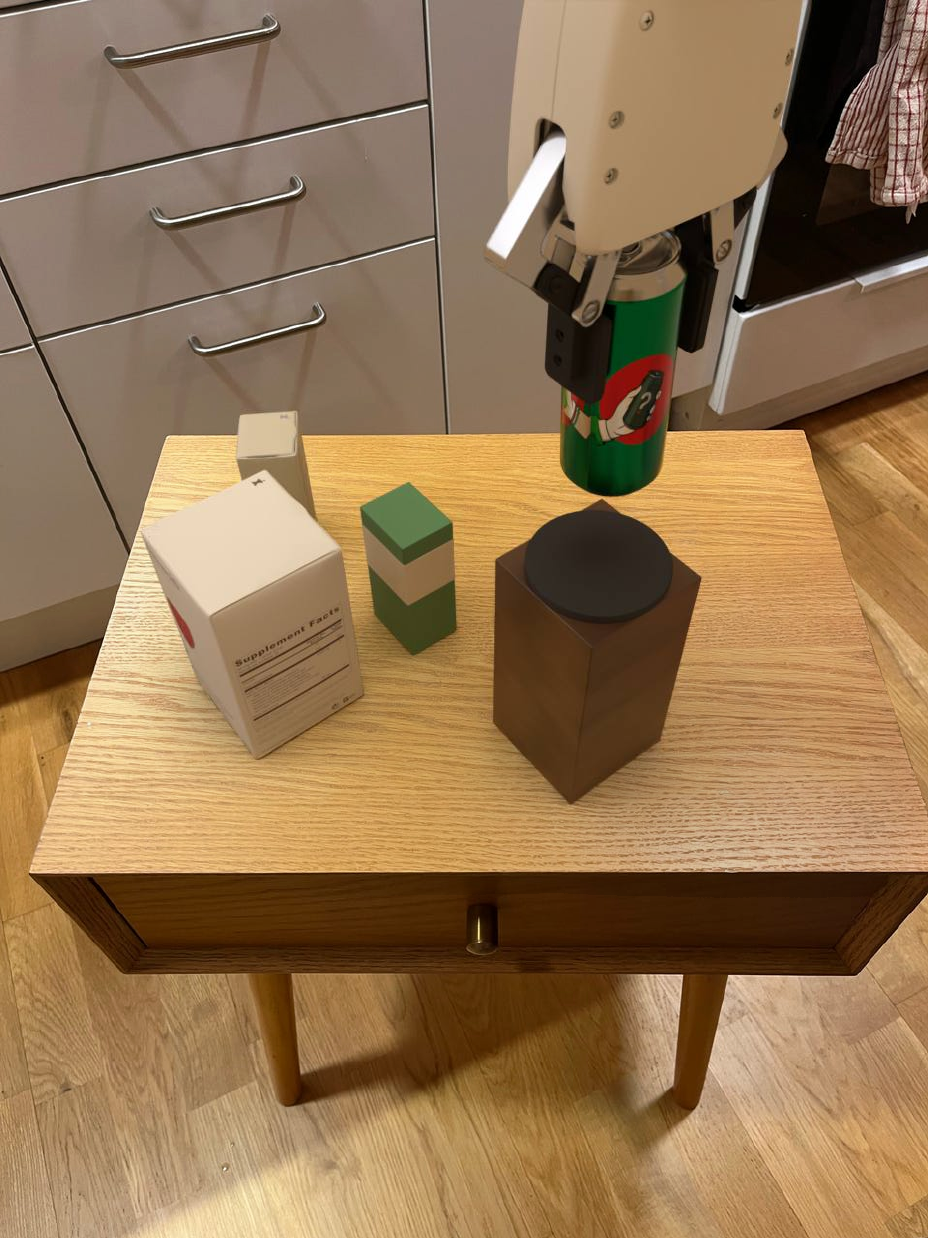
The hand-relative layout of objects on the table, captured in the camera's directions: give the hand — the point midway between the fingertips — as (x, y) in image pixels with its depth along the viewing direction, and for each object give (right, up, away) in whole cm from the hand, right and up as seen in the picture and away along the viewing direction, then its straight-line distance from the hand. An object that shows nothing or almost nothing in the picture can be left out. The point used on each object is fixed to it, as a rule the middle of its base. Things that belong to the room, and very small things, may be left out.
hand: (624, 358), depth 42 cm
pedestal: (0, -19, +22) cm, 29 cm away
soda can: (0, -4, +6) cm, 7 cm away
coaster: (0, -9, +10) cm, 13 cm away
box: (-21, -5, +34) cm, 41 cm away
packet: (-9, -7, +25) cm, 28 cm away
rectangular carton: (-20, -16, +25) cm, 36 cm away
